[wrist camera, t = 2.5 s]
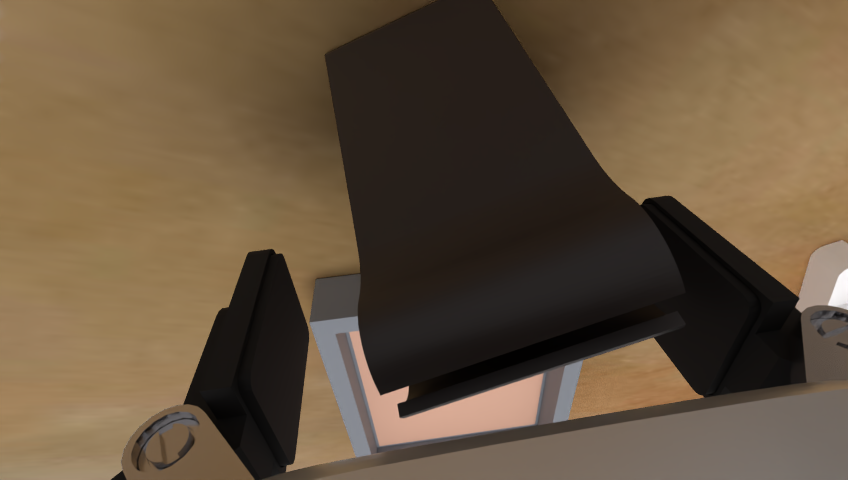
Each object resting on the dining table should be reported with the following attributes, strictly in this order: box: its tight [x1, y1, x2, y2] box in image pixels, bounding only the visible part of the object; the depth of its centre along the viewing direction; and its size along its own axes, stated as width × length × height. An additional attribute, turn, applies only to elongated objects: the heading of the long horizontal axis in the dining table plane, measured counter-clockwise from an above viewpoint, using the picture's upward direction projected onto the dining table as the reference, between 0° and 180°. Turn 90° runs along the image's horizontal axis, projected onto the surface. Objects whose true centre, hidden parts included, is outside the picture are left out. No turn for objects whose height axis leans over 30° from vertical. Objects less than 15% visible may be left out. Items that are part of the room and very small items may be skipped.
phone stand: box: [325, 0, 686, 418], centre depth 13 cm, size 9×6×12 cm, turn 22°
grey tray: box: [309, 274, 583, 457], centre depth 26 cm, size 14×17×3 cm
